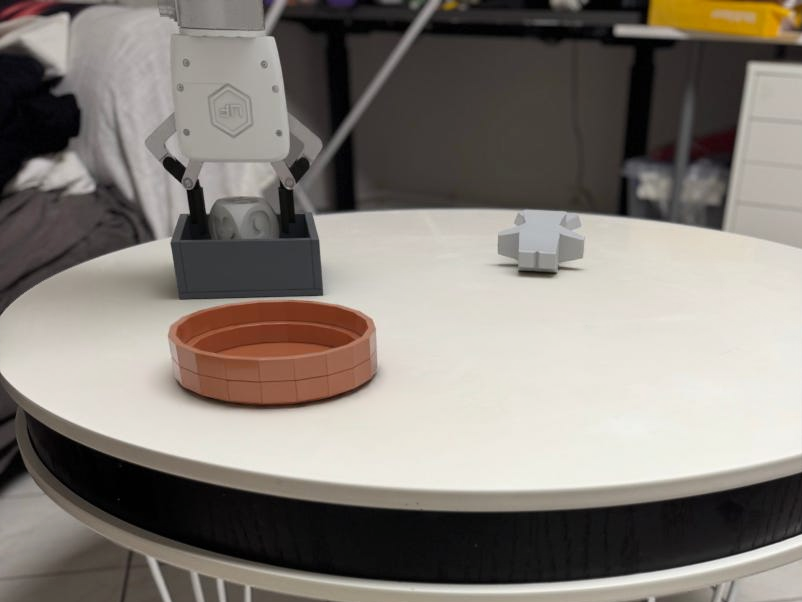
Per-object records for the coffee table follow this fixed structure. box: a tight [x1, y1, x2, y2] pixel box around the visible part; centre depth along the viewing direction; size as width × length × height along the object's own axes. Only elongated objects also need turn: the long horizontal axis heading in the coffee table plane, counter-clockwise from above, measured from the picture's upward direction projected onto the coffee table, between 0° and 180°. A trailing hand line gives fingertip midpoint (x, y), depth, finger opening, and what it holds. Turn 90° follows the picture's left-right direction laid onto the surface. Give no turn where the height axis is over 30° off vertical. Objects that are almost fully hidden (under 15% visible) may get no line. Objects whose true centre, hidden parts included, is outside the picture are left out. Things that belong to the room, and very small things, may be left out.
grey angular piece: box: [497, 209, 586, 274], centre depth 101 cm, size 10×5×15 cm
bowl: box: [167, 299, 379, 406], centre depth 69 cm, size 15×15×4 cm
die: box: [208, 195, 280, 240], centre depth 90 cm, size 5×5×5 cm
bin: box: [170, 211, 324, 300], centre depth 92 cm, size 14×14×5 cm
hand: (244, 230), depth 90 cm, fingers open, 7 cm apart
